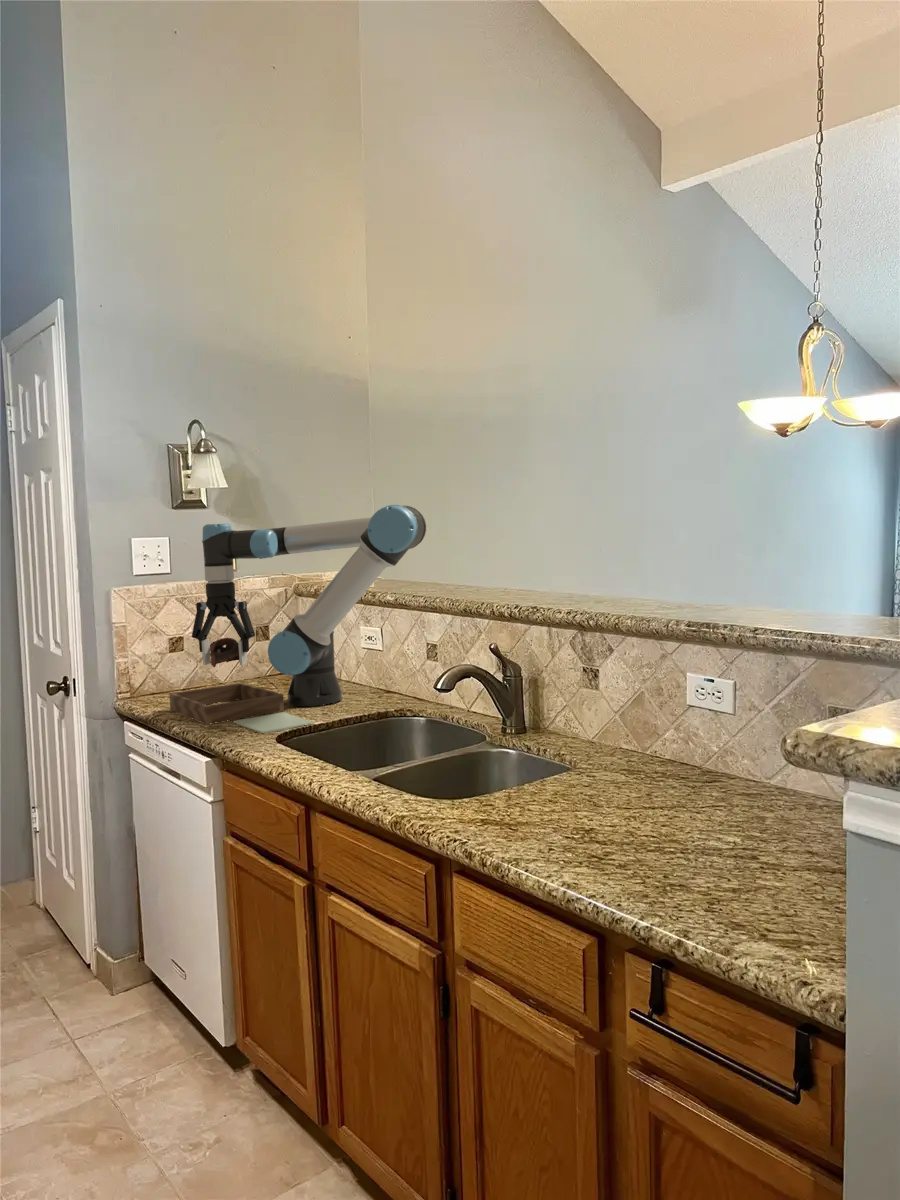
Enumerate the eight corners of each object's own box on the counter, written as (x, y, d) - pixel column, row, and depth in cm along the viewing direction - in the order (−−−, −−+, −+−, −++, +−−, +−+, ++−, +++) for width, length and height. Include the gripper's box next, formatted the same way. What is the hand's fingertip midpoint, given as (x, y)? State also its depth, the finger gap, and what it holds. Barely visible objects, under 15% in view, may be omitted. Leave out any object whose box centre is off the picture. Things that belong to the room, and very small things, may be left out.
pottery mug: (254, 664, 244) (247, 640, 240) (229, 684, 239) (220, 660, 234) (225, 650, 251) (217, 627, 246) (199, 669, 245) (191, 646, 240)
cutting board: (313, 724, 224) (313, 722, 224) (262, 734, 215) (262, 732, 215) (283, 714, 236) (283, 712, 236) (233, 722, 228) (233, 721, 228)
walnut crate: (283, 711, 240) (283, 694, 239) (207, 724, 226) (206, 707, 226) (243, 698, 259) (242, 682, 258) (170, 709, 245) (169, 693, 245)
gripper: (265, 579, 240) (269, 661, 242) (189, 581, 246) (194, 661, 248) (252, 582, 233) (257, 666, 235) (174, 583, 238) (179, 666, 241)
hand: (225, 664), depth 241 cm, fingers closed on pottery mug, 10 cm apart
